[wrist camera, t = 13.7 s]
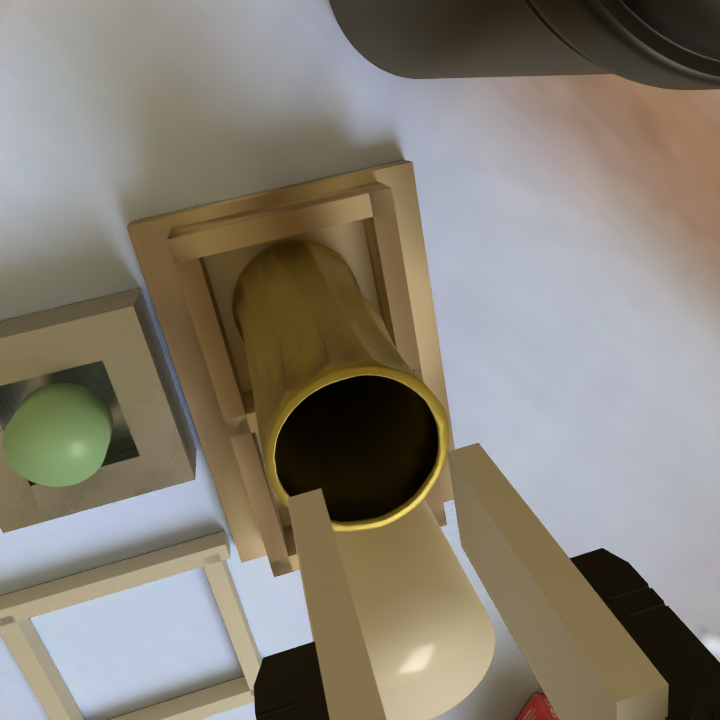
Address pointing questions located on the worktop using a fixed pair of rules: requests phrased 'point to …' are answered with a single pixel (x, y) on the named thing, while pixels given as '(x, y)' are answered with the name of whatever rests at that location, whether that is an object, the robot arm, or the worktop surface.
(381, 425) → the vase
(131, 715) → the rim
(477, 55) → the water bottle
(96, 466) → the button
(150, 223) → the wooden divided tray
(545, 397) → the worktop surface
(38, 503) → the square block with hole
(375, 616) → the cream rounded cylinder
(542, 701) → the ink box
